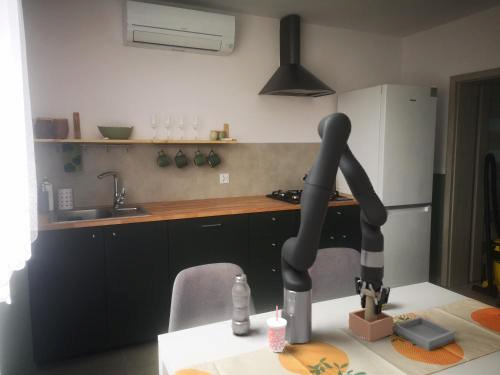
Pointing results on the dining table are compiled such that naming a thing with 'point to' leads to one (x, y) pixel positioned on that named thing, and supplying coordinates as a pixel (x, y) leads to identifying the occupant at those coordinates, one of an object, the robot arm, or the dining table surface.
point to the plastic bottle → (240, 305)
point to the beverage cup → (276, 332)
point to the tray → (424, 333)
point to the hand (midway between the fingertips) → (370, 310)
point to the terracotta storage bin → (370, 325)
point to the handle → (370, 306)
